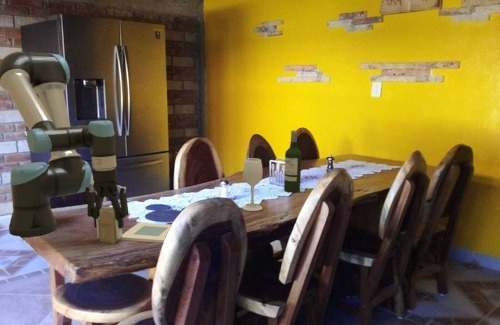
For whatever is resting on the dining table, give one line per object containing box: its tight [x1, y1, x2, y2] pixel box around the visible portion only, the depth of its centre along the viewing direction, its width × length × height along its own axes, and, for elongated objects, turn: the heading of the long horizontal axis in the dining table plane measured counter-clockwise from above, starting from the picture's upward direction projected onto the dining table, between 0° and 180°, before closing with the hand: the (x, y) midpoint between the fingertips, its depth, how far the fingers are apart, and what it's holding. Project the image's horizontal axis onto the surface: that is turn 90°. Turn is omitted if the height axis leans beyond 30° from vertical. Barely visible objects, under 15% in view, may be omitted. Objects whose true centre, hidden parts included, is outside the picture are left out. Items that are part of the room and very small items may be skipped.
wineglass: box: [241, 157, 263, 212], centre depth 184 cm, size 9×9×21 cm
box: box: [99, 206, 120, 244], centre depth 145 cm, size 5×4×11 cm
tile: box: [118, 222, 172, 244], centre depth 153 cm, size 16×16×1 cm
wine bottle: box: [283, 130, 302, 194], centre depth 214 cm, size 8×8×30 cm
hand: (109, 237), depth 145 cm, fingers open, 6 cm apart
